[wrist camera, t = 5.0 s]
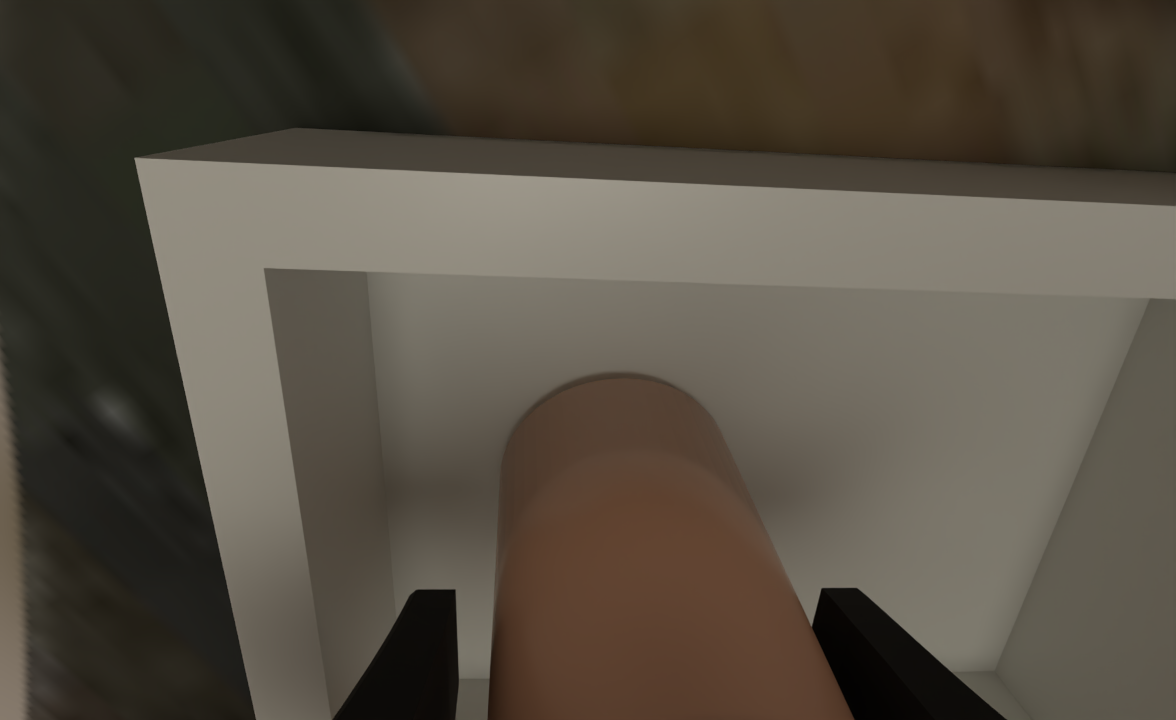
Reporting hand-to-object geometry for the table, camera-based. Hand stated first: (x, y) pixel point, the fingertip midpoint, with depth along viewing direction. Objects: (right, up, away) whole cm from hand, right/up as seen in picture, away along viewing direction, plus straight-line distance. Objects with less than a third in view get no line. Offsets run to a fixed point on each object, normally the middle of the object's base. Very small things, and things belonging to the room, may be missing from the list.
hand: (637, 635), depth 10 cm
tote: (+3, +2, +5) cm, 6 cm away
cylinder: (0, +2, +4) cm, 4 cm away
